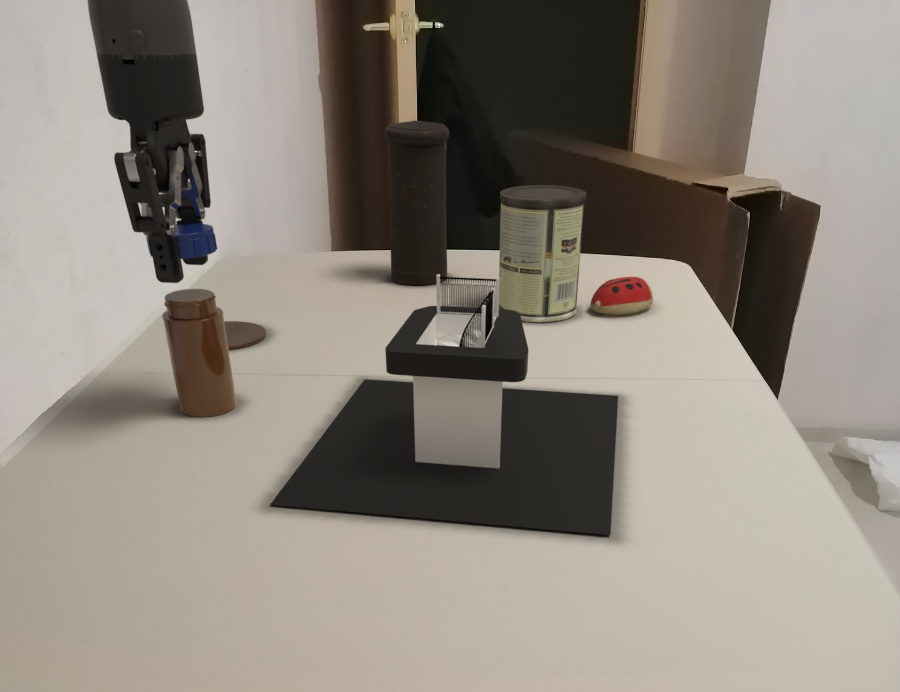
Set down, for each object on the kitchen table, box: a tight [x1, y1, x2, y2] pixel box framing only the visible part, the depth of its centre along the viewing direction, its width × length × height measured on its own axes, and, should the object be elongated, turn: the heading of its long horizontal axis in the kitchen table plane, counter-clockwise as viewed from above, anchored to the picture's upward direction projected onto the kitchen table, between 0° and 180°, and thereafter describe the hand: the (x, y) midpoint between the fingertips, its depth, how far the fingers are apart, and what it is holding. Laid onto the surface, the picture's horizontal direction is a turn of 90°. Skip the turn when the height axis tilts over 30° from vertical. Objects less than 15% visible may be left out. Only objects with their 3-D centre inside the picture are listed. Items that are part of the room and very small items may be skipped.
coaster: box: [224, 320, 267, 351], centre depth 100 cm, size 10×10×1 cm
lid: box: [145, 223, 218, 260], centre depth 74 cm, size 6×6×2 cm
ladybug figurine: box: [590, 276, 654, 316], centre depth 109 cm, size 7×10×4 cm
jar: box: [161, 288, 238, 418], centre depth 80 cm, size 5×5×11 cm
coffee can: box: [498, 184, 587, 323], centre depth 105 cm, size 10×10×14 cm
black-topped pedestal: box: [270, 274, 619, 536], centre depth 71 cm, size 28×26×13 cm
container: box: [384, 120, 450, 286], centre depth 117 cm, size 9×9×20 cm
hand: (183, 271), depth 76 cm, fingers closed on lid, 5 cm apart
